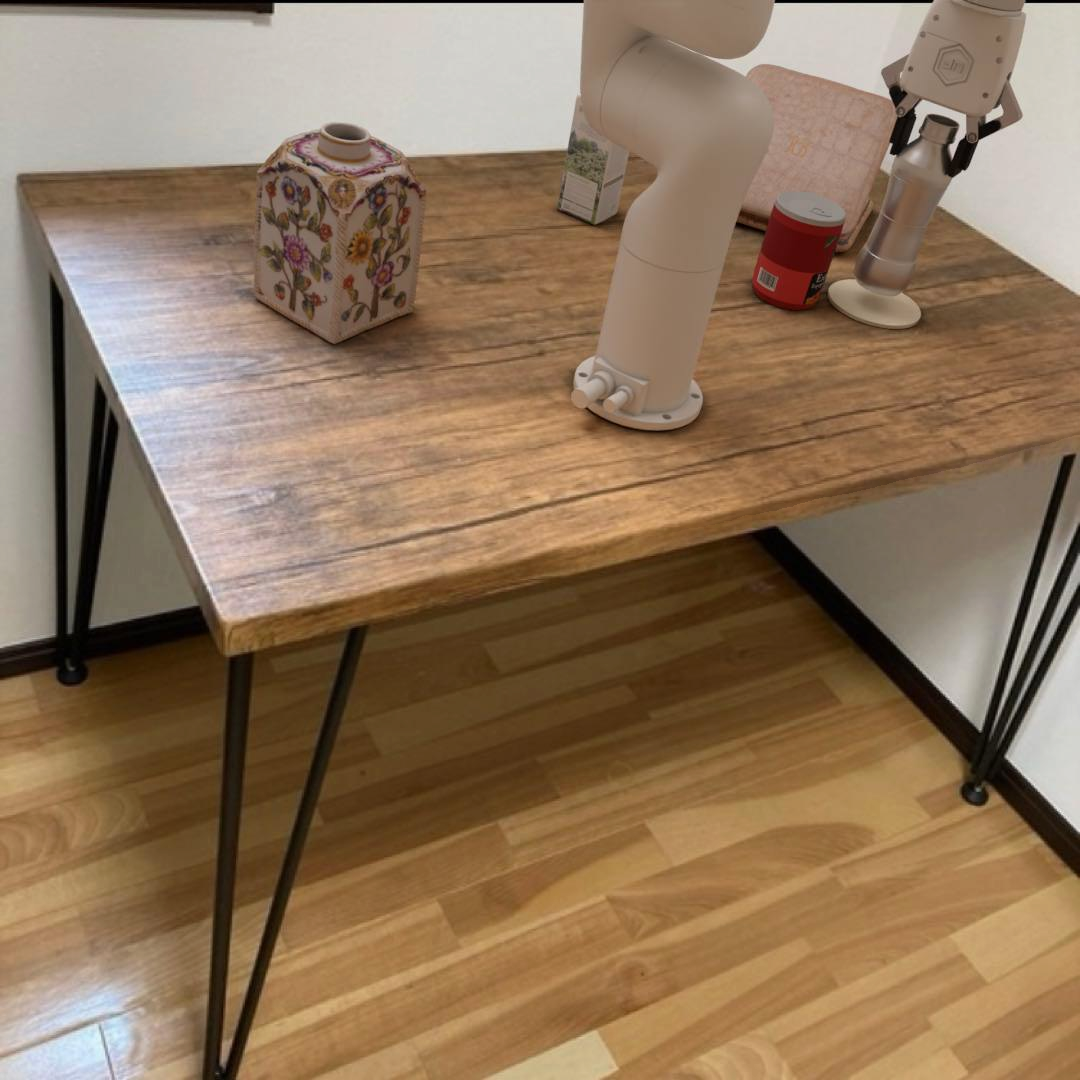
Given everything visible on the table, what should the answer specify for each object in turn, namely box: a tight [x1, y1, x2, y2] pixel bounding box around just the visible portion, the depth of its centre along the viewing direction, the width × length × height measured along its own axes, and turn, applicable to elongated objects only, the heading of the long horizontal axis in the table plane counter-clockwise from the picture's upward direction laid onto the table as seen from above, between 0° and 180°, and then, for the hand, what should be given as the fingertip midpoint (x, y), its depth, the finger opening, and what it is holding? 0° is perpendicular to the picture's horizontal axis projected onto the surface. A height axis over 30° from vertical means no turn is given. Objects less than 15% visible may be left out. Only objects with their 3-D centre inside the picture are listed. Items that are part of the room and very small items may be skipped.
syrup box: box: [556, 92, 630, 225], centre depth 149 cm, size 6×6×14 cm
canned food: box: [751, 191, 846, 311], centre depth 140 cm, size 8×8×11 cm
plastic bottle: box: [853, 113, 961, 296], centre depth 138 cm, size 6×7×20 cm
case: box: [736, 63, 897, 253], centre depth 159 cm, size 20×21×16 cm
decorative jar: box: [253, 121, 427, 345], centre depth 119 cm, size 12×12×18 cm
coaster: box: [826, 278, 922, 330], centre depth 145 cm, size 11×11×1 cm
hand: (925, 161), depth 135 cm, fingers closed on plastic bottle, 6 cm apart
